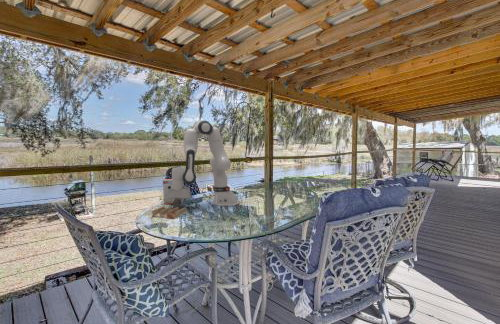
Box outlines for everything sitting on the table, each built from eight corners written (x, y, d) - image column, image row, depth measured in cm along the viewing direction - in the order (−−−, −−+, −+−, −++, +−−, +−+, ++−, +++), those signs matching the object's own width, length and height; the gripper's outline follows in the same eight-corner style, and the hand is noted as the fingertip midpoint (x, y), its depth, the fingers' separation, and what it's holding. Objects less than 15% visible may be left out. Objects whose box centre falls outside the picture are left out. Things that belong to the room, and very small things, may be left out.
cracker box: (182, 202, 239) (181, 178, 237) (180, 204, 233) (178, 179, 231) (166, 202, 240) (165, 178, 238) (163, 204, 235) (162, 179, 232)
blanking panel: (184, 206, 227) (184, 197, 226) (176, 210, 215) (176, 201, 215) (181, 206, 228) (181, 197, 227) (173, 209, 216) (172, 201, 216)
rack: (186, 212, 208) (186, 207, 208) (174, 219, 192) (174, 213, 192) (164, 210, 214) (164, 205, 214) (150, 217, 198) (150, 211, 197)
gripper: (191, 186, 220) (192, 203, 221) (169, 185, 226) (170, 201, 227) (187, 187, 214) (188, 205, 215) (164, 186, 220) (165, 203, 221)
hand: (178, 203), depth 221 cm, fingers closed on blanking panel, 3 cm apart
